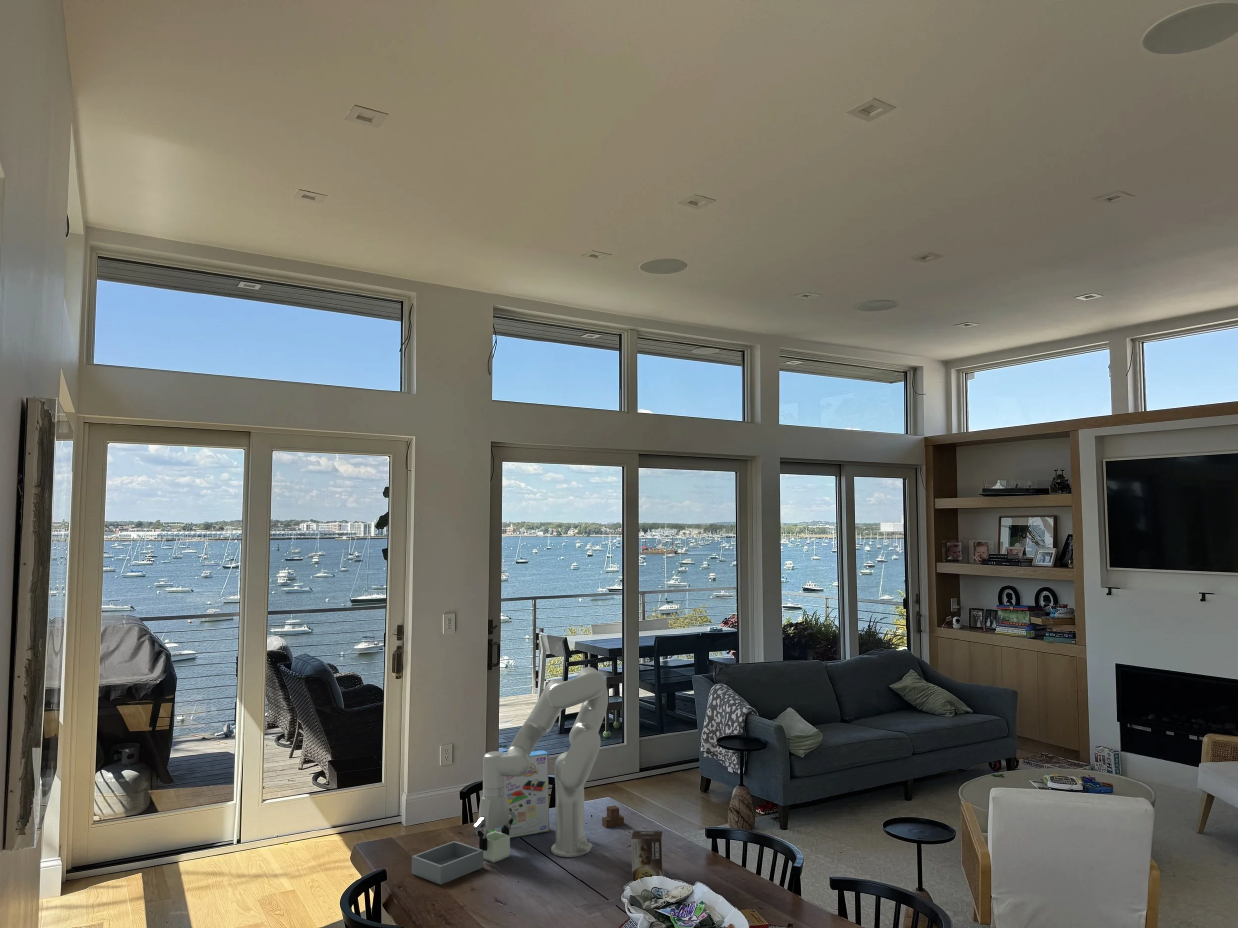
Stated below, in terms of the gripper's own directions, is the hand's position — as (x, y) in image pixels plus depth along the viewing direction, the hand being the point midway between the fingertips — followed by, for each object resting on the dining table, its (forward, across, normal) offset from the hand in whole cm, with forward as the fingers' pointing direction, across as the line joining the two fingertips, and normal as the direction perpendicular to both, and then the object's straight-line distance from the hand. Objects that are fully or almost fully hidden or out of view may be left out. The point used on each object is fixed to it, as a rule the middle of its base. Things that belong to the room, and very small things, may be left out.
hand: (494, 845), depth 274 cm
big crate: (+4, +16, -4) cm, 17 cm away
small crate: (+4, 0, 0) cm, 4 cm away
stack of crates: (+4, -47, +13) cm, 49 cm away
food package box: (+4, -9, +56) cm, 57 cm away
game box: (+4, -20, -9) cm, 22 cm away
